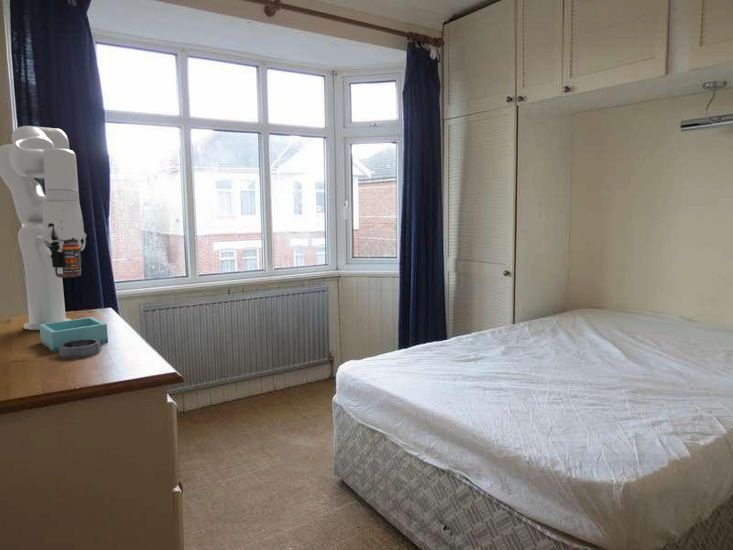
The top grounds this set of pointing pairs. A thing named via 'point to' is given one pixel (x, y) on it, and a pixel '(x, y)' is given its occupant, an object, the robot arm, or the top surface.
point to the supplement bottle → (70, 260)
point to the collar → (79, 348)
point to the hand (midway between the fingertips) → (67, 265)
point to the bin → (72, 332)
